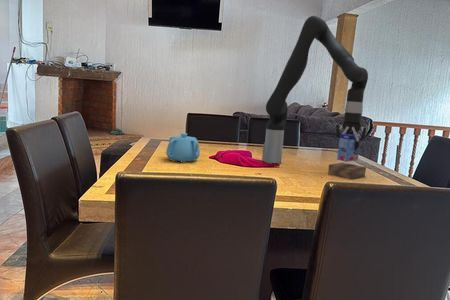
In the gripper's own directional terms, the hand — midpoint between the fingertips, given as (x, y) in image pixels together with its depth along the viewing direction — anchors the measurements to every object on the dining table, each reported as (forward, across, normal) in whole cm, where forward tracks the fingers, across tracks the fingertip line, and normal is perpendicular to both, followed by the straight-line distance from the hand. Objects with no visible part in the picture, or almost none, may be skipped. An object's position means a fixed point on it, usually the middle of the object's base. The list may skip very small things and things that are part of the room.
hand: (349, 148), depth 178 cm
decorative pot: (+13, -70, -35) cm, 79 cm away
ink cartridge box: (+6, 0, 0) cm, 6 cm away
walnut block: (+13, 0, 0) cm, 13 cm away
